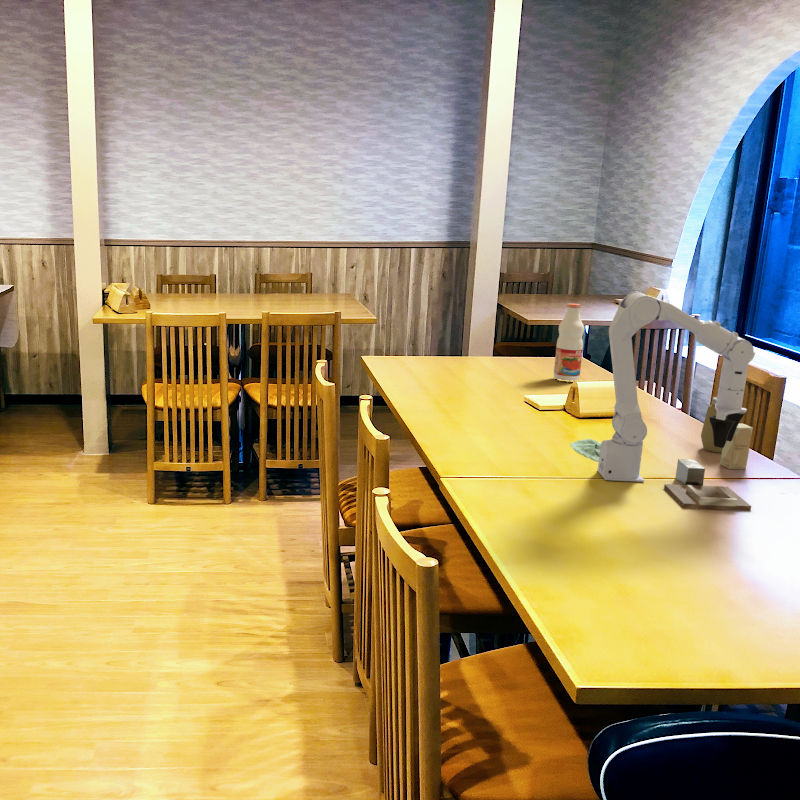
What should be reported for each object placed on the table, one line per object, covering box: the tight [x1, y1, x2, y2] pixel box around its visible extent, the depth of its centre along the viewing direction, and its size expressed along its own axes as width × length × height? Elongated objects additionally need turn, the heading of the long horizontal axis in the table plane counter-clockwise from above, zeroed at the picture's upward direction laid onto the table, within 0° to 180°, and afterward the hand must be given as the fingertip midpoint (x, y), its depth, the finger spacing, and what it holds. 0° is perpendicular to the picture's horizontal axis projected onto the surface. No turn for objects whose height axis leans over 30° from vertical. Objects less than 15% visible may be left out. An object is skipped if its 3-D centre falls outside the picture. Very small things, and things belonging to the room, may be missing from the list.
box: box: [719, 422, 754, 470], centre depth 223 cm, size 5×4×11 cm
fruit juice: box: [553, 302, 585, 381], centre depth 318 cm, size 9×9×28 cm
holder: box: [663, 483, 752, 511], centre depth 198 cm, size 15×14×2 cm
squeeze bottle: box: [700, 396, 722, 453], centre depth 237 cm, size 8×8×18 cm
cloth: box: [569, 438, 602, 463], centre depth 231 cm, size 20×22×2 cm
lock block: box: [675, 458, 706, 486], centre depth 209 cm, size 4×7×5 cm, turn 2°
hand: (722, 443), depth 209 cm, fingers open, 7 cm apart
